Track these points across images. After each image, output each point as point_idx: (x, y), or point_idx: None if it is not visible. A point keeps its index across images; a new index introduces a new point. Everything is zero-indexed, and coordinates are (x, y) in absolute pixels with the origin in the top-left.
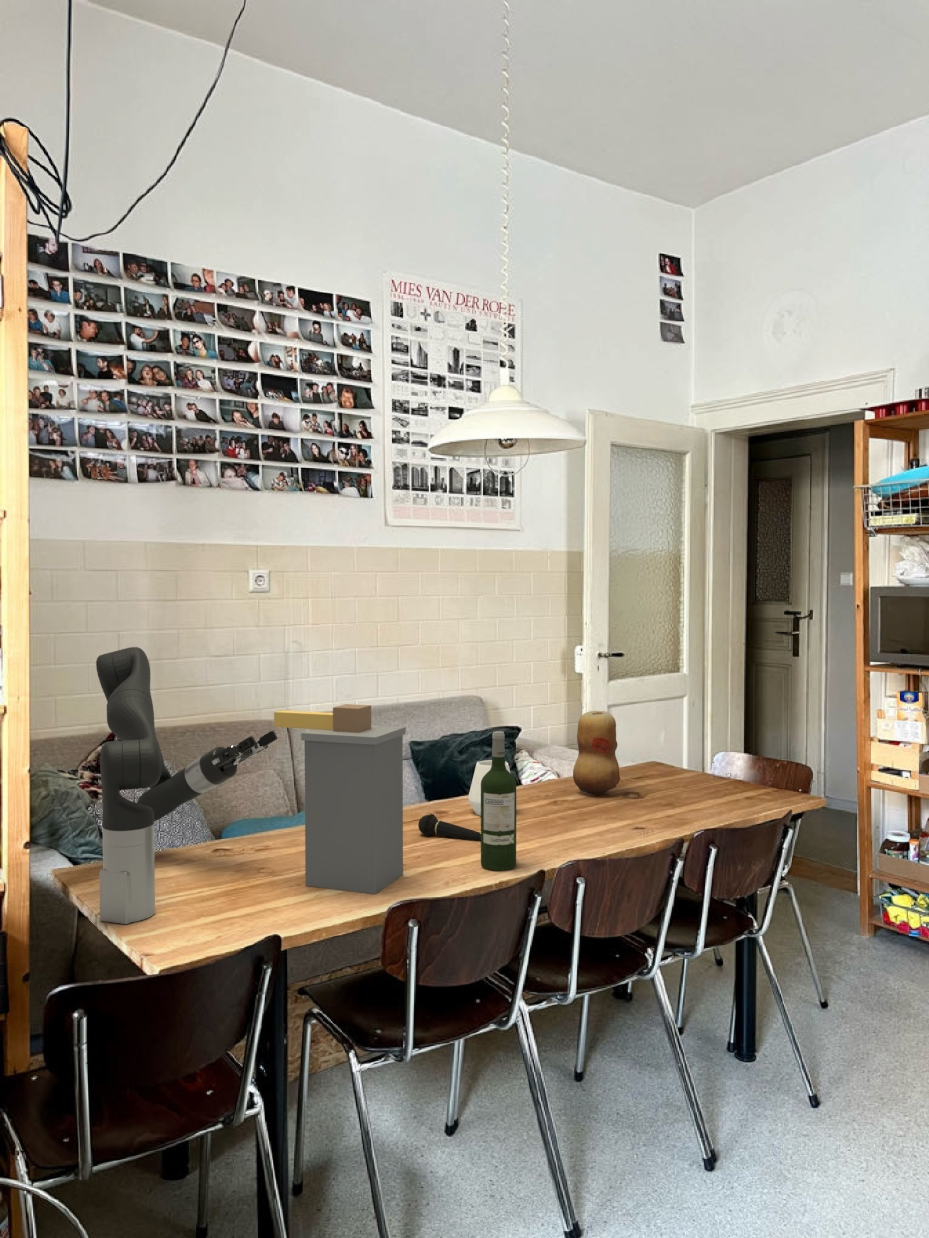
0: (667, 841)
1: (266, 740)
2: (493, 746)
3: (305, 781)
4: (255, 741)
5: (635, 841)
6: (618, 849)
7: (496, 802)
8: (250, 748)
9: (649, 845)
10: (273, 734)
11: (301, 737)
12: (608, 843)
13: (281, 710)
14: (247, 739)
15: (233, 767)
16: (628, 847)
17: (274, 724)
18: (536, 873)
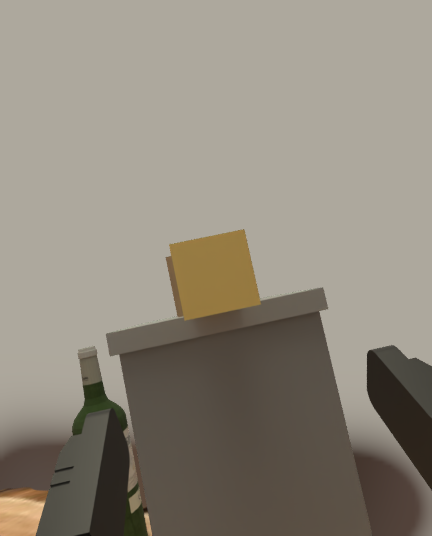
0: (8, 493)
1: (116, 509)
2: (95, 367)
3: (348, 435)
4: (367, 380)
5: (3, 508)
6: (37, 505)
7: (129, 437)
8: (402, 444)
9: (23, 496)
10: (119, 428)
11: (325, 300)
12: (7, 519)
13: (176, 243)
14: (410, 370)
15: None
16: (29, 503)
17: (257, 292)
18: (147, 511)
